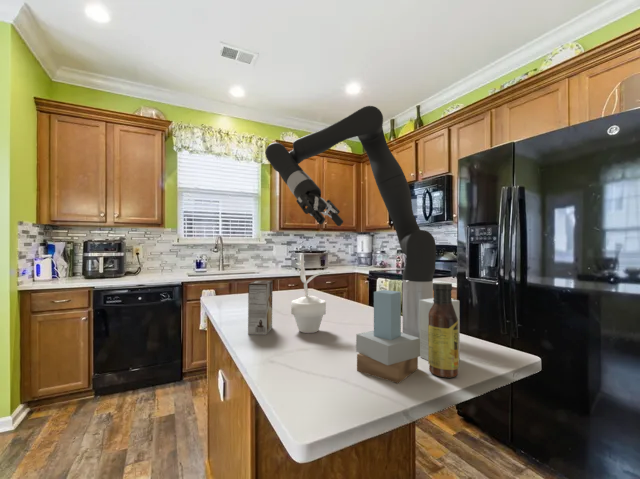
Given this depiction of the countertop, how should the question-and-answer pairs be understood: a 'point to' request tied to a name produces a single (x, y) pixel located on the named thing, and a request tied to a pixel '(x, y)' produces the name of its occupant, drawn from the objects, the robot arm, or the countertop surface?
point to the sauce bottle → (443, 333)
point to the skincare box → (424, 321)
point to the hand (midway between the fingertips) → (332, 223)
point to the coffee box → (259, 307)
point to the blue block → (387, 314)
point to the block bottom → (386, 368)
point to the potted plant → (308, 306)
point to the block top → (388, 347)
